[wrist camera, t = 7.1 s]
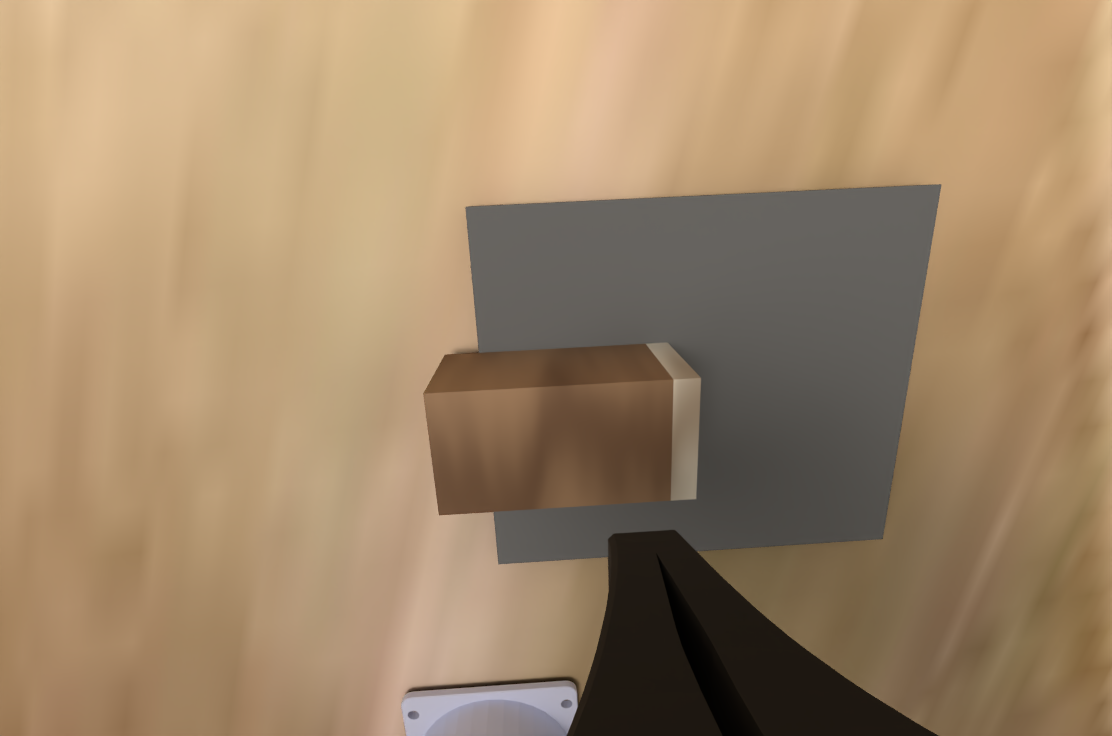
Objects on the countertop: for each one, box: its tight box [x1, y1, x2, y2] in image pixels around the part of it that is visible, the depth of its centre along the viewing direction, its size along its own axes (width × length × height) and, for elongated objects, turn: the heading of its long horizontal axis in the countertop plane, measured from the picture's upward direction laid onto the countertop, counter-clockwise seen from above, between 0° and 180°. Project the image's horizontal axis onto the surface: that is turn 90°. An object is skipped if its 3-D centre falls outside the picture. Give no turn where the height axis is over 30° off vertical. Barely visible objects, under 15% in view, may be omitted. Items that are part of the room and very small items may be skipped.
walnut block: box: [423, 342, 701, 515], centre depth 18 cm, size 4×4×8 cm
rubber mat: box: [466, 184, 941, 564], centre depth 20 cm, size 14×16×1 cm
